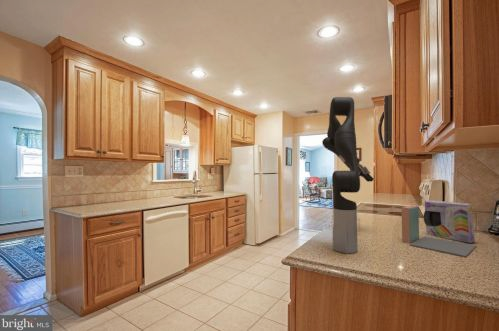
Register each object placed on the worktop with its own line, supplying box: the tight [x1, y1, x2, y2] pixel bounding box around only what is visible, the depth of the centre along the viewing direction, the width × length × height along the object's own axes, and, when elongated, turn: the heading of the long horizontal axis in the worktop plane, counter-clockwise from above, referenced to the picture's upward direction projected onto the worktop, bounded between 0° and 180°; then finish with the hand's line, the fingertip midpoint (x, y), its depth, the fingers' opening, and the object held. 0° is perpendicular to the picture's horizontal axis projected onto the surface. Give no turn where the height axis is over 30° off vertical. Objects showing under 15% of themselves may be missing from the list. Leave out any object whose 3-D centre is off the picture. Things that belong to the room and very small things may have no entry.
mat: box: [409, 235, 477, 258], centre depth 102 cm, size 20×18×1 cm
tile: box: [401, 204, 420, 244], centre depth 112 cm, size 12×3×16 cm, turn 128°
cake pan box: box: [423, 200, 476, 244], centre depth 115 cm, size 19×5×18 cm, turn 23°
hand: (371, 180), depth 126 cm, fingers open, 2 cm apart
